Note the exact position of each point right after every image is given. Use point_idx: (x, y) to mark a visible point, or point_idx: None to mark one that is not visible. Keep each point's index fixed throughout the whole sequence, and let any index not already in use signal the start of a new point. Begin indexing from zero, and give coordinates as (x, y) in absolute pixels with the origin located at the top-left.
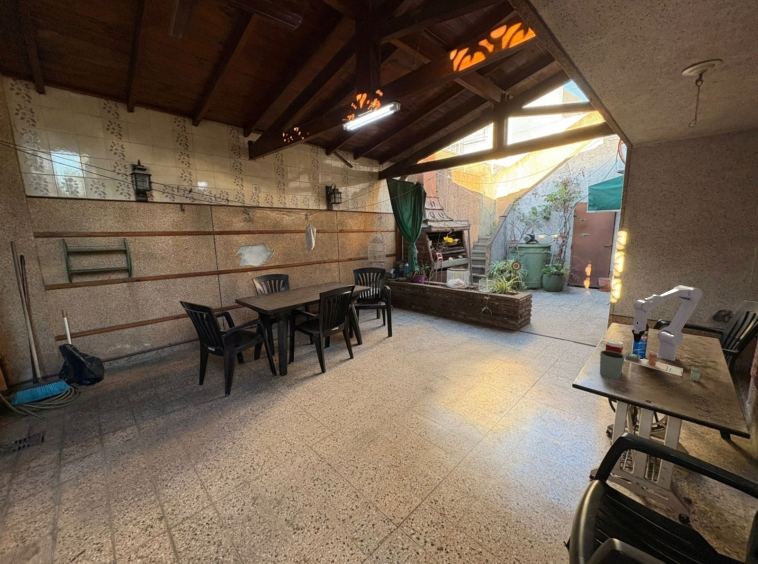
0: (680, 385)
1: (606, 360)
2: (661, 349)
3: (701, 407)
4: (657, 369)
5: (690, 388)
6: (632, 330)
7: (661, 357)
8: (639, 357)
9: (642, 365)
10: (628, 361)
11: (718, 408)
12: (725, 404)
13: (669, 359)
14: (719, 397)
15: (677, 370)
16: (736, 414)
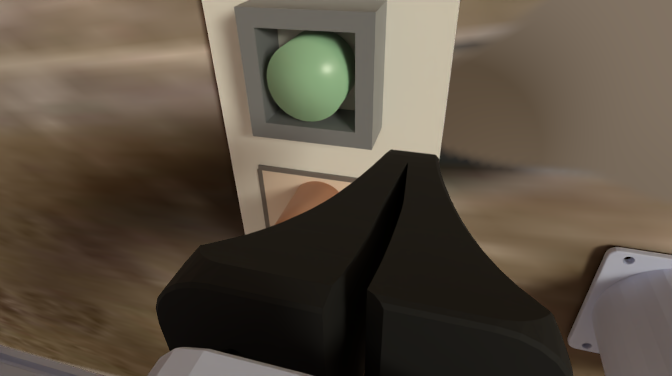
0: (138, 285)
1: None
2: (653, 356)
3: (12, 301)
4: (246, 226)
5: (146, 311)
6: (196, 300)
7: (610, 285)
8: (300, 138)
9: (231, 144)
10: (223, 35)
11: (62, 338)
12: (117, 363)
13: (586, 326)
14: None
15: None
16: (73, 364)
